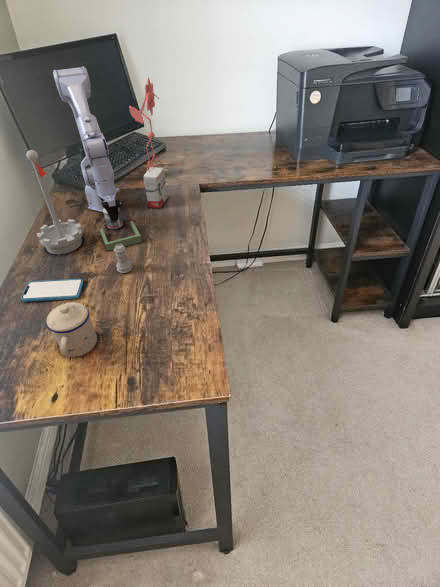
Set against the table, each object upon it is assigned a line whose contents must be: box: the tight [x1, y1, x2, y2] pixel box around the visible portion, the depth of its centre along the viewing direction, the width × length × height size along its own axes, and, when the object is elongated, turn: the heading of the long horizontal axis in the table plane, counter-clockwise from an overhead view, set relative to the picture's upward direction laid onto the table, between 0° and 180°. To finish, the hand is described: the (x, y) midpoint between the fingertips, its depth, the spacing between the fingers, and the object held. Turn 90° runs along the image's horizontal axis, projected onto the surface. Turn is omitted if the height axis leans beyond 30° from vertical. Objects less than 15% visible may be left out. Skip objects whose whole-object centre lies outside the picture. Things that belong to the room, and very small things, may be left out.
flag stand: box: [25, 149, 84, 255], centre depth 112 cm, size 13×13×30 cm
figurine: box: [128, 76, 182, 183], centre depth 150 cm, size 15×26×35 cm, turn 177°
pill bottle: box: [102, 200, 124, 230], centre depth 127 cm, size 5×5×9 cm
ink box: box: [142, 166, 168, 209], centre depth 137 cm, size 9×5×12 cm, turn 168°
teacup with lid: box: [46, 301, 98, 358], centre depth 85 cm, size 12×9×12 cm
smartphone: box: [20, 278, 84, 303], centre depth 104 cm, size 8×1×15 cm
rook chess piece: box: [113, 244, 133, 274], centre depth 108 cm, size 4×4×8 cm
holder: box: [99, 220, 143, 252], centre depth 123 cm, size 10×11×2 cm
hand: (113, 216), depth 127 cm, fingers closed on pill bottle, 5 cm apart
